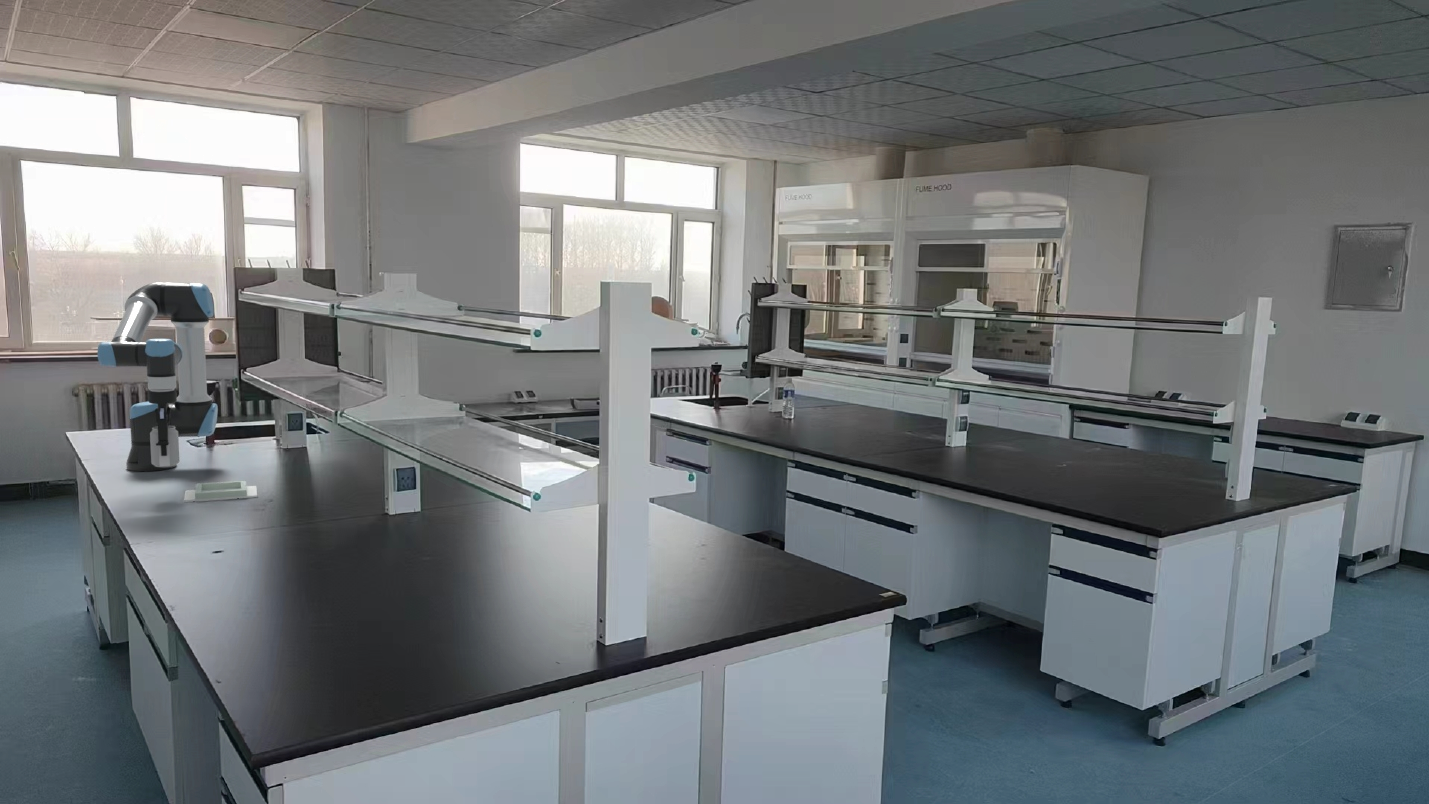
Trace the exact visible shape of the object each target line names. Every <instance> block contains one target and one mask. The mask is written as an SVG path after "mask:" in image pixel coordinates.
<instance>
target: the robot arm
mask: <svg viewBox="0 0 1429 804" xmlns="http://www.w3.org/2000/svg"><path fill="white" fill-rule="evenodd" d="M213 300H214V299H213V297H212V293H211V290H210V288H209V287H208V286H207V285H206V284H205V283H197V282H163V281H158V282H156V281H155V282H152V283H148V284H146V285H145V284H144V285H143V286H141V287H139V288H138V289H137V290H135V291H134V292H132V293H131V294H130V295H129V296H128V298H127V299H126V301H125V304H124V311H125V312H124V314H123V316H122V318H121V320H120V322H119V324H118V327H117V329H116V331H115V332H114V335H113V337H112V339H111V341H103V342H100V343H99V344H98V347H97V354H96V355H97V360H98V363H99V365H100V366H103V367H113V368H116V367H122V368H123V367H126V368H127V367H131V368H132V367H146V375H147V378H145V379H144V383H147V389H148V391H147V399H148V400H147V401H143V402H139V403H135V404H133V405H132V406H130V409H129V425H130V440H131V441H130V442H131V443H130V444H131V447H130V451H129V453H128V457H127V459H126V470H128V471H132V472H154V471H163V470H168V469H173V468H174V467H177V466H178V464H177V465H175V466H171V467H155V466H154V465H153V464H152V463H151V444H150V432H151V431H152V430H153V429H152V428H153V427H157V426H158V443H156V446H159V464H160V466H170V454H169V445H168V444H169V442H168V426H175V427H176V428H175V429H176V430H177V431H178V438H187V437H188V438H189V437H190V438H192V437H193V438H194V437H195V438H196V437H197V438H200V437H210V436H212V435H213V434H214V432H215V430H216V427H217V426H216V425H217V421H218V411H219V408H218V404H217V403H214V402H213V398H212V397H211V396H210V395H209V394H208V384H207V364H206V363H207V361H206V339H205V338H206V337H205V326H206V325H208V324H209V323H210V318H212V317H213V316H214V314H215V312H214V309H215V308H214V301H213ZM157 317H170V322H171V324H173V325H174V326H175V327H176V328H175V329H176V330H175V332H176V342H175V341H174V340H173V339H170V338H150V339H147V340H146V341H144V342H142V341H143V338H144V336H145V334H146V331H147V330H148V327H149V324H150V323H151V321H152V320H154V319H155V318H157ZM176 365H177V371H178V373H177V374H178V376H176ZM177 377H178V393H177V390H176V389H177ZM177 394H178V396H177Z"/></svg>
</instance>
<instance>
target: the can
mask: <svg viewBox="0 0 1429 804" xmlns="http://www.w3.org/2000/svg"><path fill="white" fill-rule="evenodd" d="M175 428H176V427H175V426H168V442H169V444H168V445H169V454H170V466H160V464H159V446H156V443H158V426H157V427H153V428H152V429H153V430H152V431H151V432H150V444H151V463H152V464H153V465H154V466H155V467H171V466H175V465H177V466H178V463H180V446H179V445H180V443H179V437H178V431H177V430H176V429H175ZM175 467H176V466H175Z"/></svg>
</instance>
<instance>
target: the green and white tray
mask: <svg viewBox="0 0 1429 804" xmlns="http://www.w3.org/2000/svg"><path fill="white" fill-rule="evenodd" d="M184 493H185V494H184V499H183V503H193V501H195V502H207V501H208V502H209V501H220V500H221V501H222V500H236V499H237V498H239V499H249V498H251V499H252V498H253V499H254V498H258V489H257V485H247V481H246V480H234V481H219V482H202V483H196V485H195V489H186V490H185V492H184Z"/></svg>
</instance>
